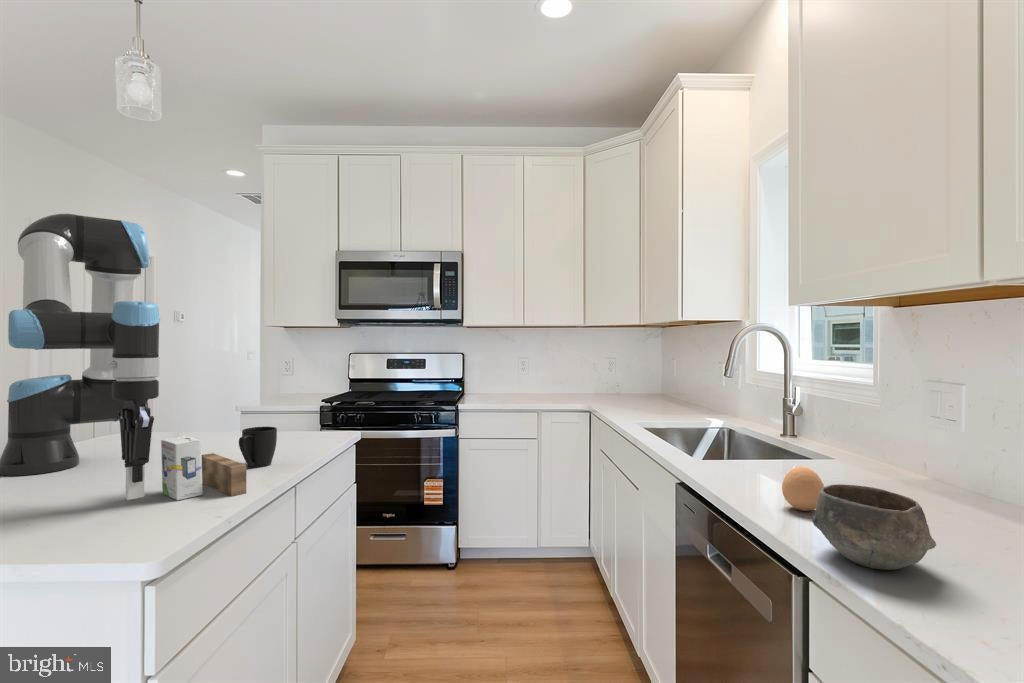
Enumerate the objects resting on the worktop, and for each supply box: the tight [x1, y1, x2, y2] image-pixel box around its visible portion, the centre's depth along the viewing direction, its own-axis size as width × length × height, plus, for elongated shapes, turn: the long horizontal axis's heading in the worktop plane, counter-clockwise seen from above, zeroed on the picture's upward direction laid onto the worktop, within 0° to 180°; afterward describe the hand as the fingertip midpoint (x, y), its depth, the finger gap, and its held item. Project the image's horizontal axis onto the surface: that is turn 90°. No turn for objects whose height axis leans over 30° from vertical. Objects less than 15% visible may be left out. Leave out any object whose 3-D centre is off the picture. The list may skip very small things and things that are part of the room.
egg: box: [781, 465, 825, 512], centre depth 100 cm, size 7×7×8 cm
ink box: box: [160, 435, 204, 501], centre depth 108 cm, size 9×5×12 cm, turn 52°
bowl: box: [811, 483, 937, 571], centre depth 77 cm, size 14×15×10 cm
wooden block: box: [201, 452, 248, 497], centre depth 114 cm, size 18×3×6 cm, turn 51°
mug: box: [238, 426, 278, 469], centre depth 132 cm, size 8×12×10 cm
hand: (135, 497), depth 101 cm, fingers closed
